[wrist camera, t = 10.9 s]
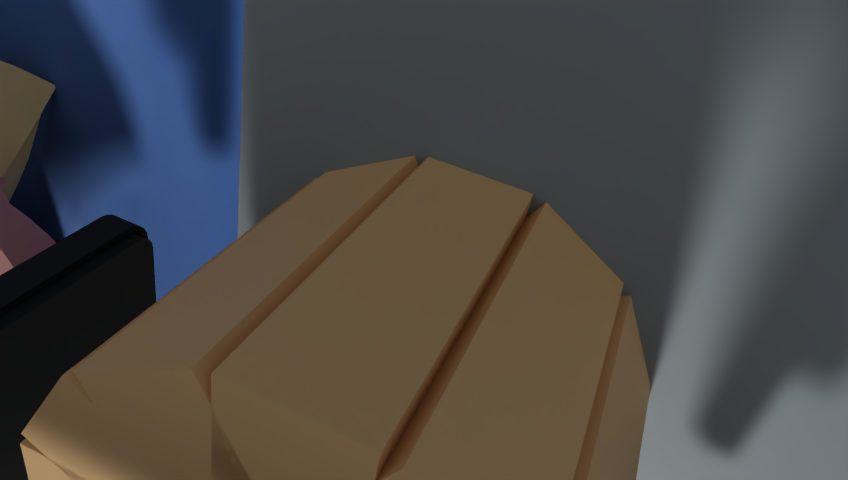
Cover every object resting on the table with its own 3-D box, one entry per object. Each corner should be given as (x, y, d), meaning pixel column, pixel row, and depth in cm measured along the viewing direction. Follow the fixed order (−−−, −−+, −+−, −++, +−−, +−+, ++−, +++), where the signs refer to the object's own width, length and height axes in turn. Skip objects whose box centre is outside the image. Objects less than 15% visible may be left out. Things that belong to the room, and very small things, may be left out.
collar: (566, 550, 13) (487, 879, 9) (255, 402, 14) (64, 624, 10) (721, 260, 9) (709, 605, 5) (273, 102, 10) (-25, 262, 6)
